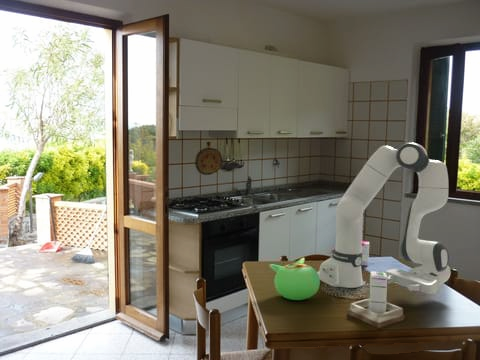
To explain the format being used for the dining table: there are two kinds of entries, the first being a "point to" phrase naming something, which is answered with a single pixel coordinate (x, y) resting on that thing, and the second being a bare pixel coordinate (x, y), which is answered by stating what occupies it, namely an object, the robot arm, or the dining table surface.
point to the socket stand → (377, 320)
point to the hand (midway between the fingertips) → (397, 284)
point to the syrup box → (377, 292)
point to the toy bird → (296, 280)
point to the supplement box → (365, 253)
